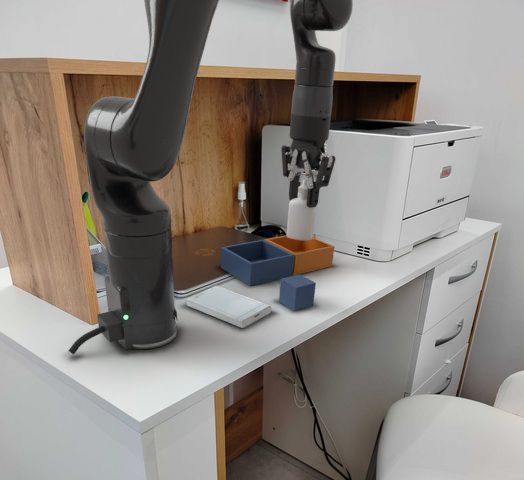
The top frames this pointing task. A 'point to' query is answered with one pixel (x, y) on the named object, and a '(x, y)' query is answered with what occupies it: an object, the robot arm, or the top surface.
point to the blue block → (297, 292)
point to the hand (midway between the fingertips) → (302, 203)
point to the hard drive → (229, 306)
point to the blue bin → (257, 262)
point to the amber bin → (306, 253)
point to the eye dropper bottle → (301, 216)
